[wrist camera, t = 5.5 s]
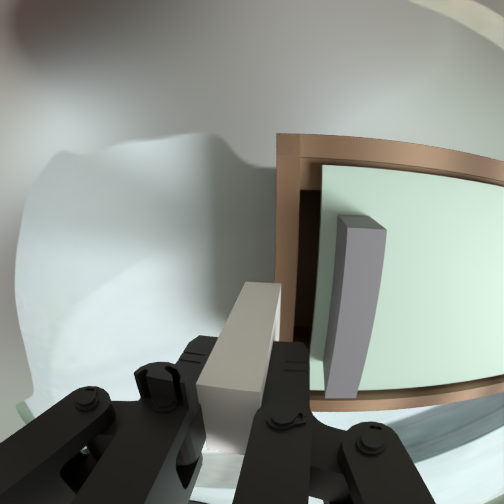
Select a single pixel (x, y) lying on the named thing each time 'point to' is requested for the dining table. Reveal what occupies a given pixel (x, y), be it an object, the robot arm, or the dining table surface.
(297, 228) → the box
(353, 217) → the mint green panel
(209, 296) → the dining table surface
